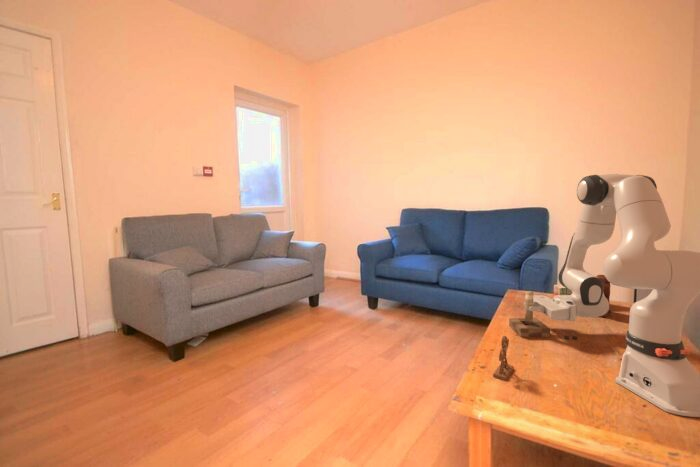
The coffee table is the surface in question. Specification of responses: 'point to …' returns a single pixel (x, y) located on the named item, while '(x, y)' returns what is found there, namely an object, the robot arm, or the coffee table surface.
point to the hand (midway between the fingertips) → (526, 306)
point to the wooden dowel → (528, 303)
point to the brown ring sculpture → (503, 362)
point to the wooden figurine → (605, 289)
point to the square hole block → (529, 328)
